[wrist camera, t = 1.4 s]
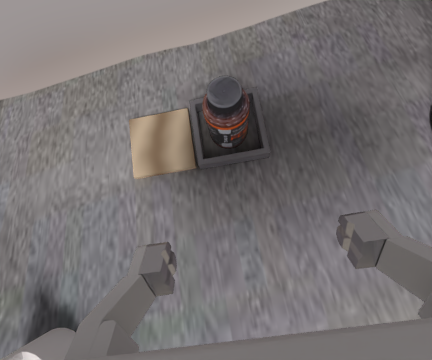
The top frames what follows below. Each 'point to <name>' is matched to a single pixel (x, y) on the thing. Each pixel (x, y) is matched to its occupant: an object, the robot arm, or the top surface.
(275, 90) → the top surface
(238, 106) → the supplement bottle
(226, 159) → the holder
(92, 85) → the top surface
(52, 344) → the base with upright slab
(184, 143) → the coaster
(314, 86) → the top surface
